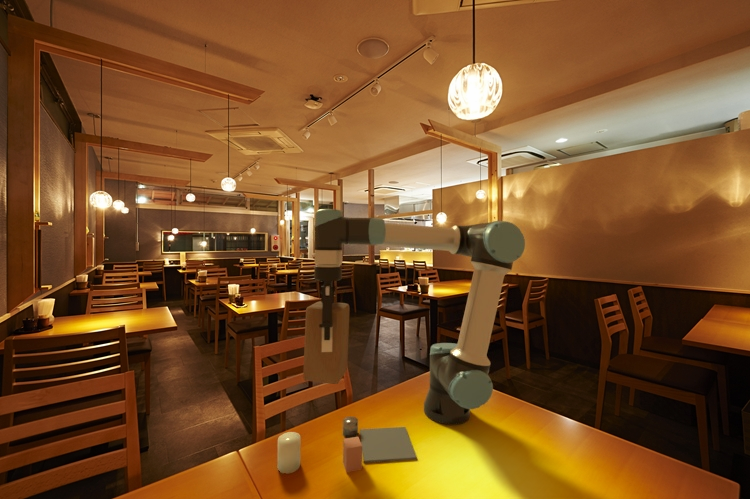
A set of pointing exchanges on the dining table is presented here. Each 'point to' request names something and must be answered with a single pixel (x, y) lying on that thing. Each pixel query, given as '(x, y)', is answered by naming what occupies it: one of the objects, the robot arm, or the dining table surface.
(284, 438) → the cream rounded cylinder
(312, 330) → the wooden block
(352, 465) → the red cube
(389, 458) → the mat
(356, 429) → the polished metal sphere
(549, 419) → the dining table surface
